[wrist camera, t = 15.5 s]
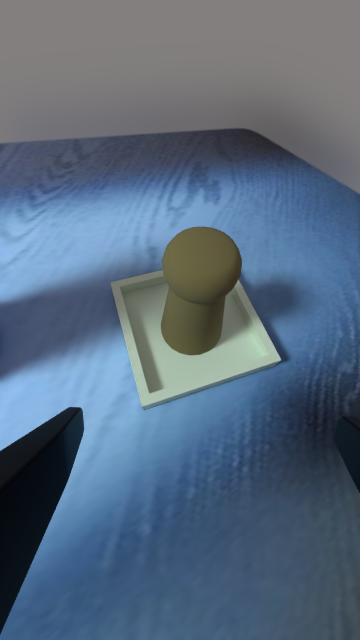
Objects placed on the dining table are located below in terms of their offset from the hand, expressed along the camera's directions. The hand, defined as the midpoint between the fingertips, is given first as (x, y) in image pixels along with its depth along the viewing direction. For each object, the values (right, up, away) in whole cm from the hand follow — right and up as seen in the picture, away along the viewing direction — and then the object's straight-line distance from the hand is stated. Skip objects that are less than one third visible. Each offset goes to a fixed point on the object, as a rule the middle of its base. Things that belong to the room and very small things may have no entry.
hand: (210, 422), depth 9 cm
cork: (0, +3, +16) cm, 17 cm away
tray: (0, +3, +17) cm, 17 cm away
